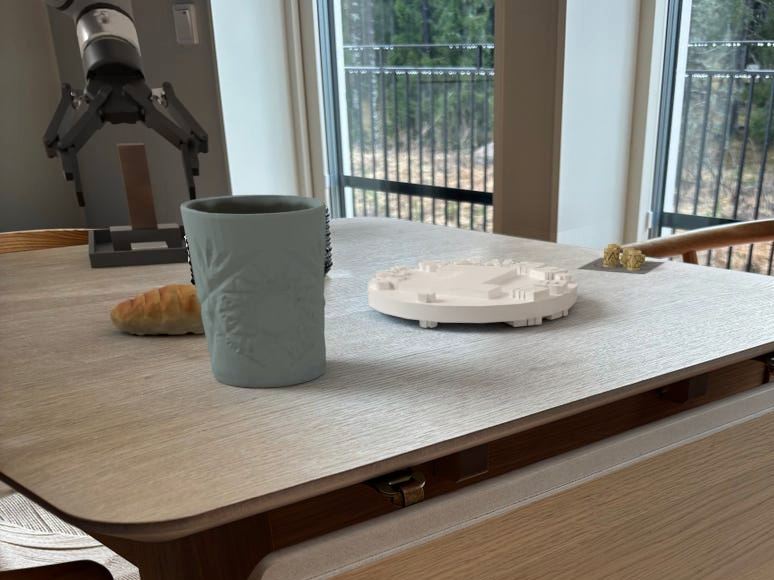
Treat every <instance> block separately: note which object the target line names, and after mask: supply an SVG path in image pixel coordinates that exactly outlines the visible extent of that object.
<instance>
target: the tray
mask: <svg viewBox="0 0 774 580" xmlns="http://www.w3.org/2000/svg"><path fill="white" fill-rule="evenodd" d="M178 226H179V228H180V233H181V240H182V246H183V248H166V249H149V250H131V251H114V249H113V243H112V238H111V232H110V228H96V229H88V258H89V263H90V268H91V269H103V268H104V269H107V268H120V267H135V266H136V267H137V266H153V265H154V266H155V265H169V264H181V263H182V264H184V263H185V264H186V263H189V262H188V251H187V247H186V241H185V238H184V236H185V235H186V234H185V229H184V224H178Z"/></svg>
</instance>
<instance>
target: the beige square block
mask: <svg viewBox="0 0 774 580" xmlns="http://www.w3.org/2000/svg"><path fill="white" fill-rule="evenodd" d="M166 248H168V246H167V244H166V242H165V241H164V242H146V243H131V249H132V250H149V249H166Z"/></svg>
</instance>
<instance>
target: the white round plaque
mask: <svg viewBox="0 0 774 580" xmlns="http://www.w3.org/2000/svg"><path fill="white" fill-rule="evenodd" d="M514 262H515V261H513V258H512V259H511V258H508V259H507V258H506V259H504V261H503V262H500V259H499V258H492V259H491V260H490V261H486V262H484V264H483V263H482V260H481V259H477V258H476V257H469V258H468V259H467V258H452V259H450V261H443V260H441V259H430V260H423V261H419V262H418V263H419V264H418V268H410V269H408V268H407V266H404V265H397V266H396V265H393V266H390V269H378V270H377V272H376V273H375V277H371V278H370V281H368V282H367V297H368V298H367V299H368V300H367V301H368V306H369V307H370V308H373V309H374V310H376V311H378V312H380V313H381V314H385V315H390V316H394V317H397V318H401V319H406V320H415V321H419V322H418V323H419V327H420V328H424V329H426V328H431V329H432V328H436V327H438V323H456V324H457V323H458V324H459V323H462V324H463V323H464V324H466V323H467V324H468V323H469V324H486V323H487V324H488V323H501V322H503V323H505V324H507V325H509V326H512V327H513V328H518V327H527V326H537V325H542V322H543V319H547V320H550V321H552V320H556V319H558V318H562V317H565V316H568V315H569V309H571V308H572V306H573V305H574V304H575V303H576V302H577V301H578V284H577V282H576V281H575V280H574V279H573V277H572V276H573V275H572V274H571V273H568V269H566V268H560V267H557V266H548V264H547V263H546V262H545V263H543V262H537V261H535V262H534V261H526V260H524V261H521V262H516V263H514Z"/></svg>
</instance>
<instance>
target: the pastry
mask: <svg viewBox="0 0 774 580" xmlns="http://www.w3.org/2000/svg"><path fill="white" fill-rule="evenodd" d="M201 311H202V307H201V304H200V301H199V299H198V296H197V290H196V285H195V284H188V283H187V284H185V283H179V284H176V283H170V284H169V283H168V284H166V285H164V286H163V287H160V288H158V287H154V288H151V289H149V290H148V291H145V292H143V293H141V294H138V295H135V297H134V298H128V299H126V300H124V301H122V302H119V303H118V304H117V305H116V306H115V307H114V308H113V309H112V310H110V312H109V318H110V320H111V324H112V326H114V327H115V328H117V329H119V330H121V331H123V332H126V333H129V334H131V335H134V334H135V335H137V336H145V335H154V336H158V335H166V334H168V335H171V336H172V335H185V334H187V333H193V334H197V335H198V334H205V330H204V325H203V321H202V314H201Z"/></svg>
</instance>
